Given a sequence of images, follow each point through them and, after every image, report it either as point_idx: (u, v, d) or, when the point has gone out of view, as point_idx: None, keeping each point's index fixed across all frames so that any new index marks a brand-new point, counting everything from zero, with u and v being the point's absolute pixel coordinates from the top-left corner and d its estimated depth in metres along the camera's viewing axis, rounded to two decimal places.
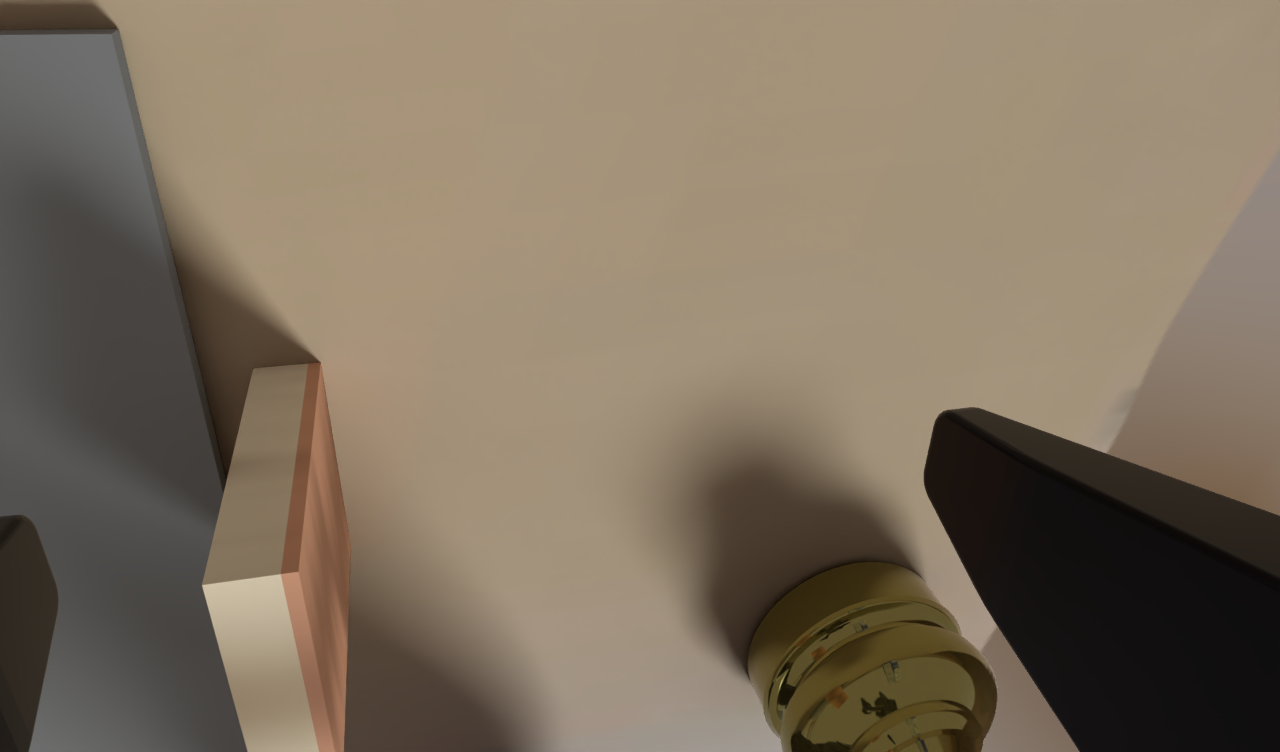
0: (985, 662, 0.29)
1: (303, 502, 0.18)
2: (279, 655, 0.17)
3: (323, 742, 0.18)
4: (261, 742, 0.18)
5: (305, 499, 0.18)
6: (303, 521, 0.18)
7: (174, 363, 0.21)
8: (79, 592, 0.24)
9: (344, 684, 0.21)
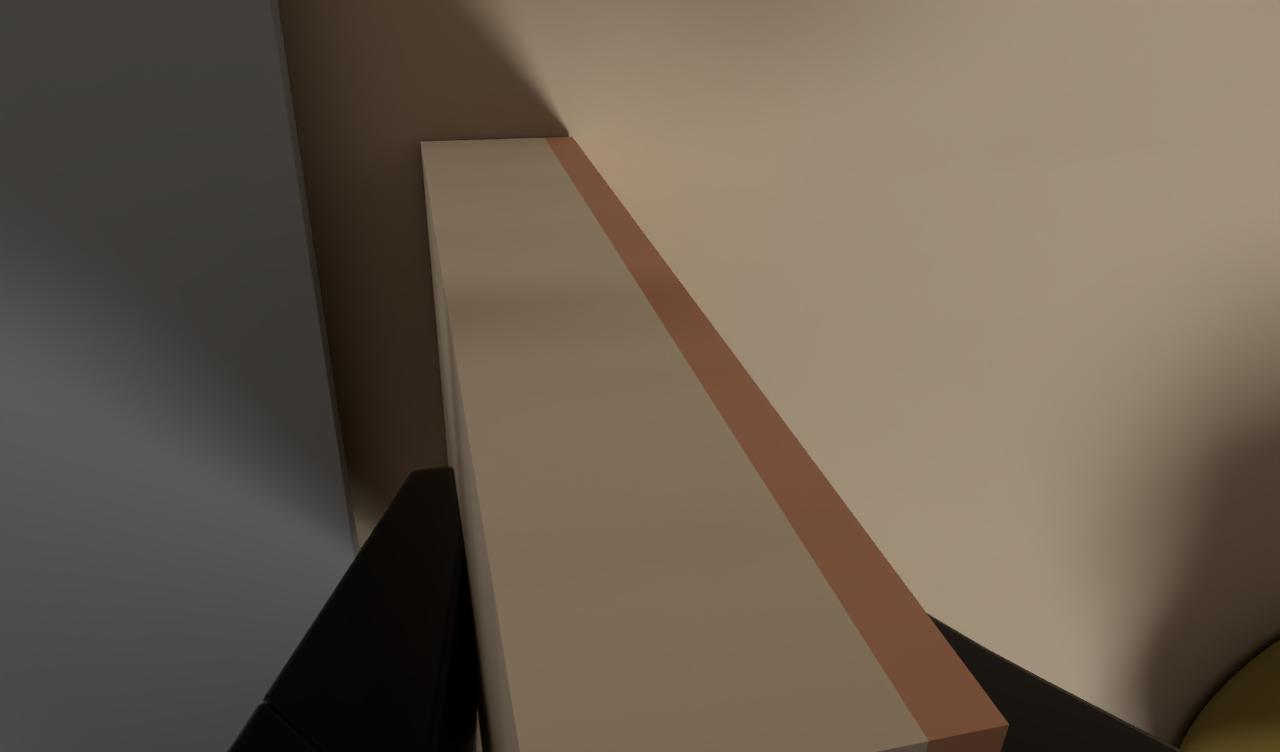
0: None
1: (767, 412, 0.05)
2: None
3: None
4: None
5: (767, 403, 0.05)
6: (817, 478, 0.04)
7: (242, 96, 0.08)
8: (7, 671, 0.11)
9: None
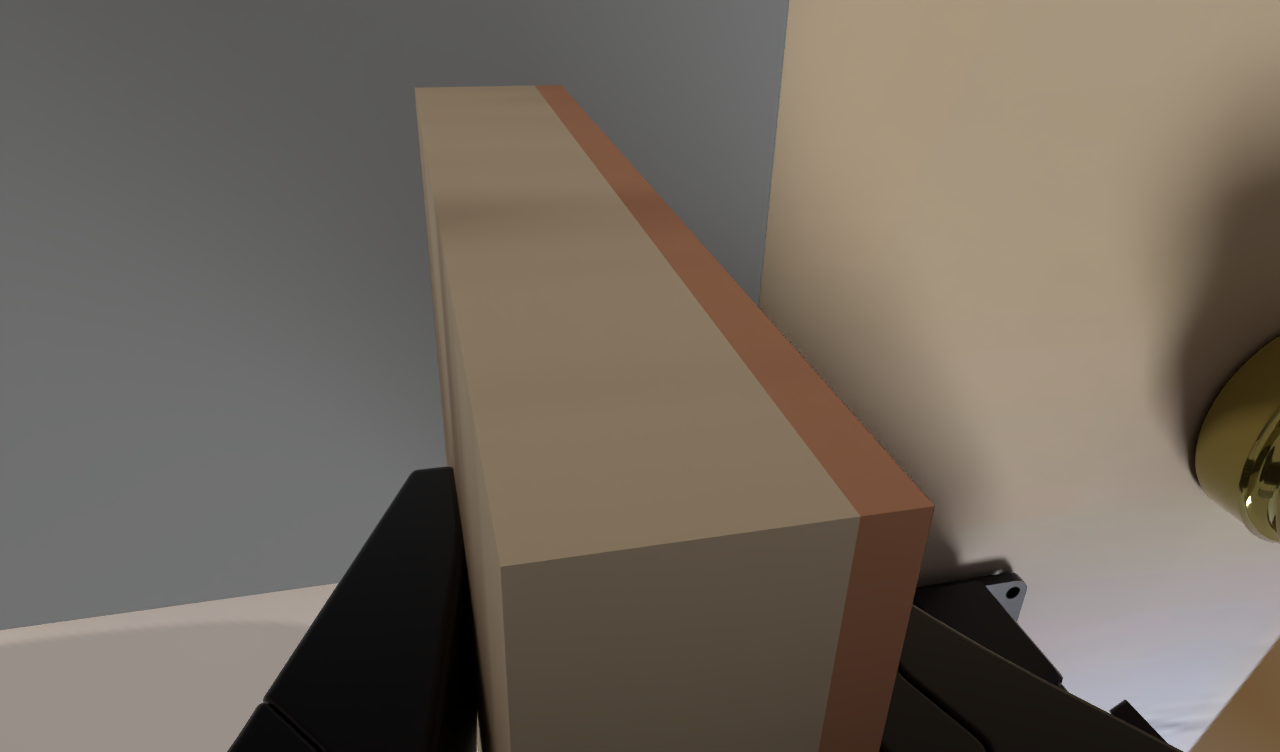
0: None
1: (734, 289, 0.05)
2: None
3: None
4: None
5: (734, 282, 0.05)
6: (777, 338, 0.05)
7: None
8: None
9: None
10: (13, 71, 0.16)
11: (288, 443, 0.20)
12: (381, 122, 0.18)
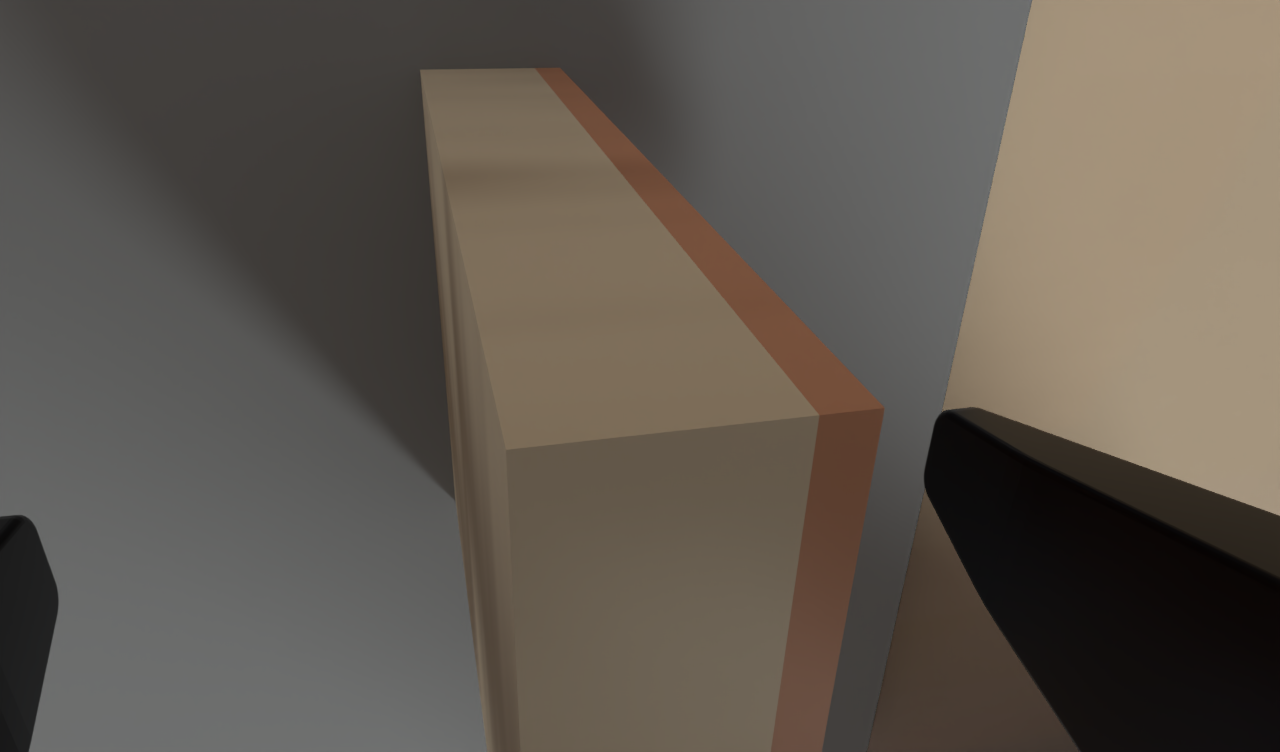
0: None
1: (716, 241, 0.06)
2: (712, 750, 0.05)
3: None
4: None
5: (717, 235, 0.06)
6: (754, 280, 0.05)
7: None
8: None
9: None
10: None
11: (256, 707, 0.14)
12: (396, 270, 0.11)
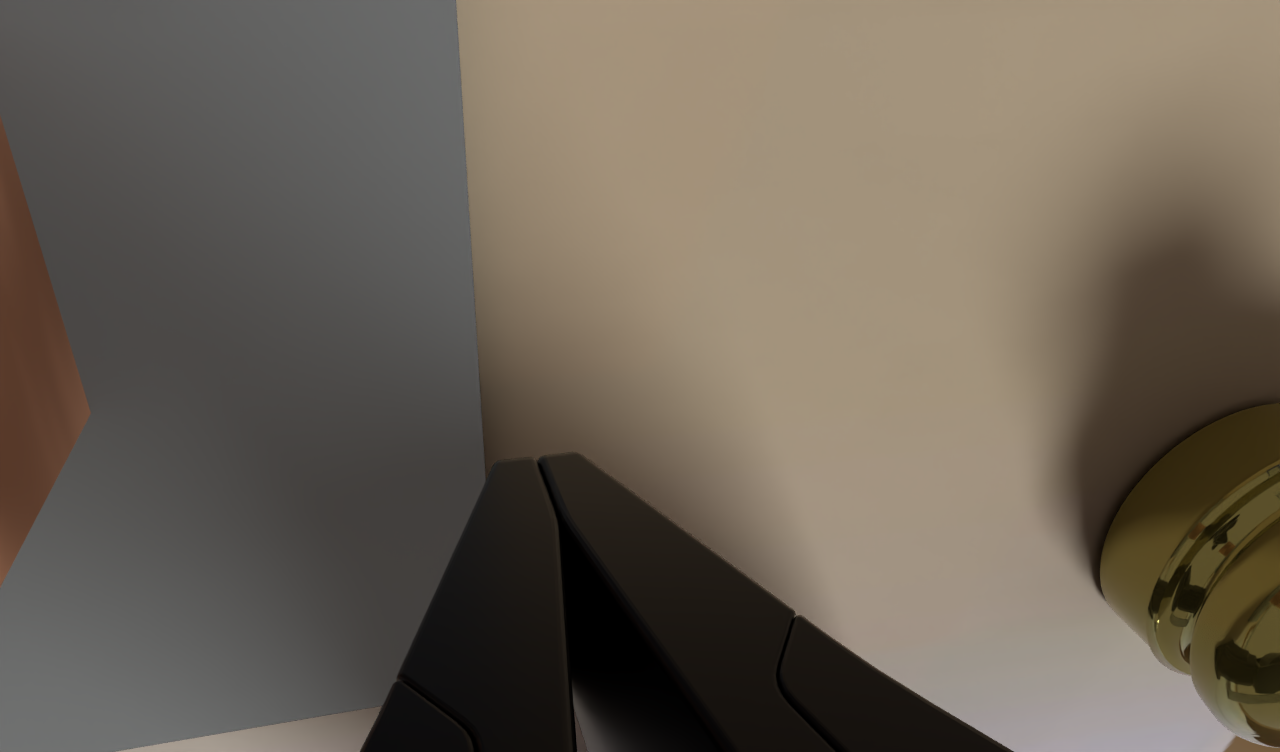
0: None
1: None
2: None
3: None
4: None
5: None
6: None
7: None
8: (229, 366, 0.15)
9: None
10: None
11: None
12: None
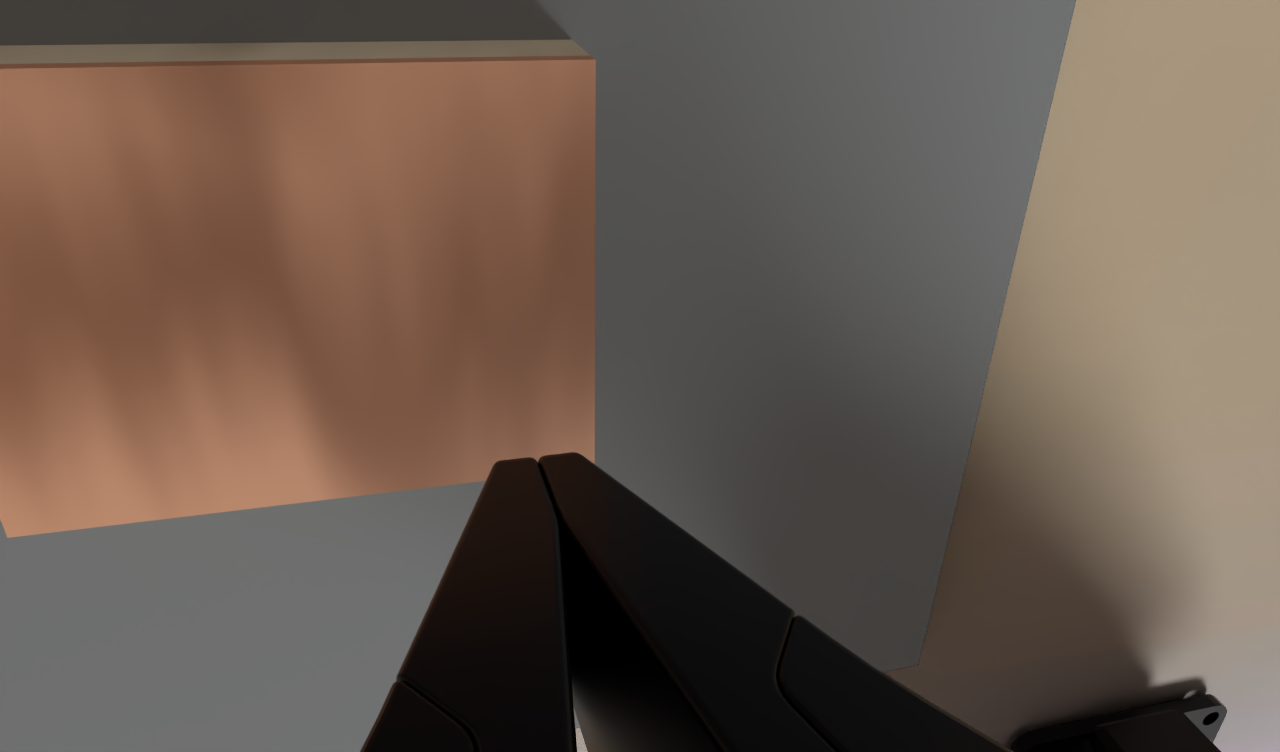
0: None
1: (57, 67, 0.10)
2: None
3: None
4: None
5: (65, 67, 0.10)
6: None
7: None
8: (795, 361, 0.16)
9: (217, 497, 0.13)
10: None
11: (405, 597, 0.16)
12: None
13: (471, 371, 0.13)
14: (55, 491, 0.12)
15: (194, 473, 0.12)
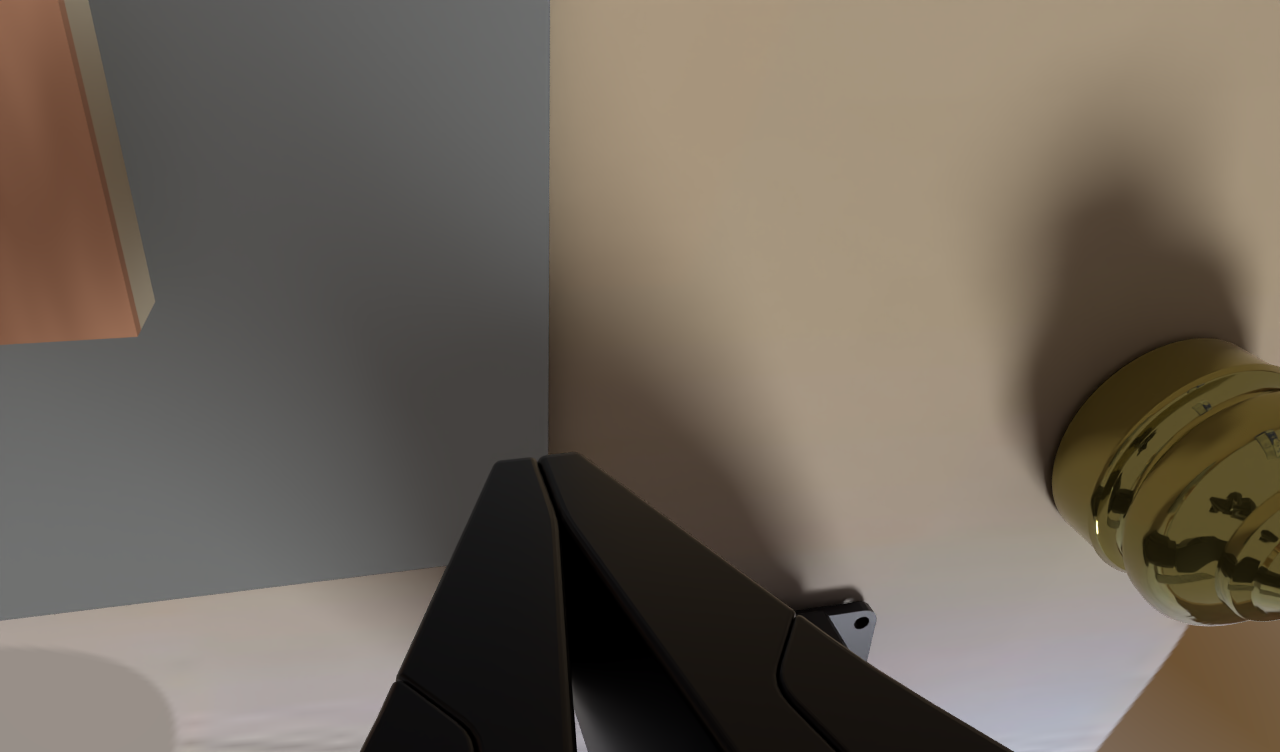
0: None
1: None
2: None
3: None
4: None
5: None
6: None
7: None
8: (357, 263, 0.19)
9: None
10: None
11: (25, 460, 0.19)
12: None
13: (0, 244, 0.15)
14: None
15: None
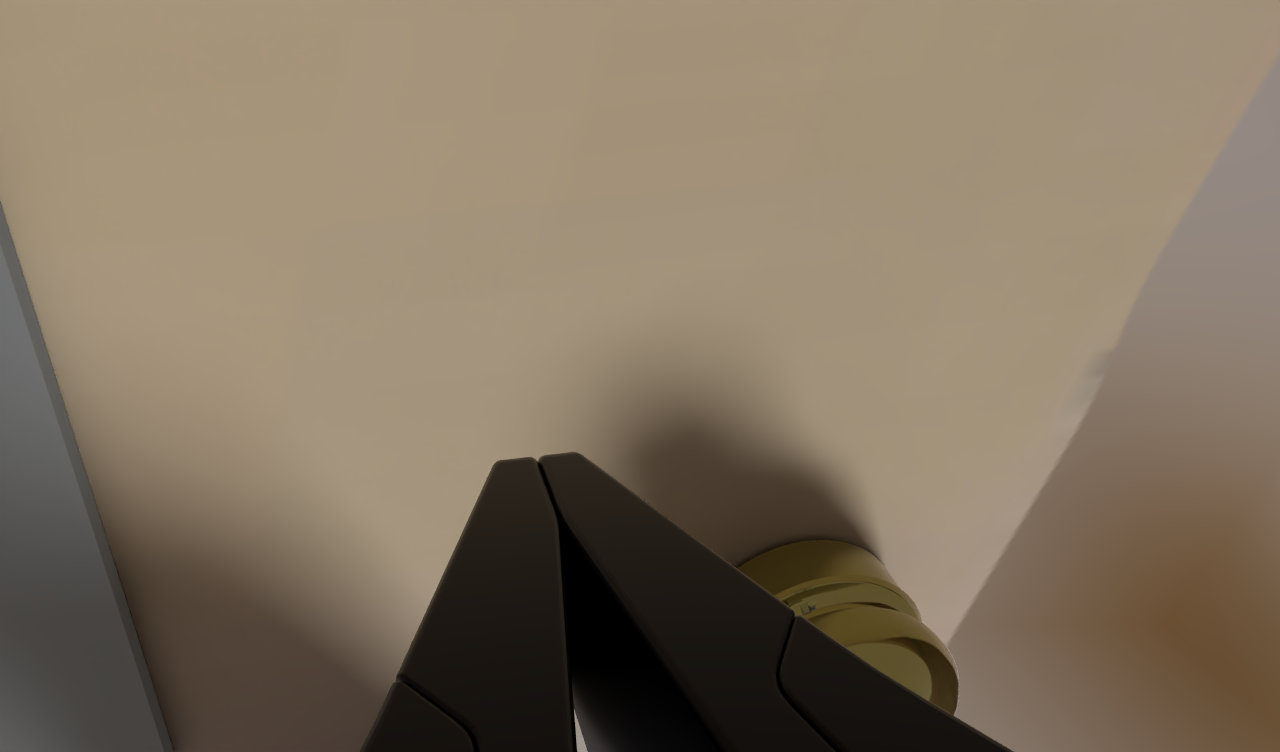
0: (944, 648, 0.26)
1: None
2: None
3: None
4: None
5: None
6: None
7: None
8: None
9: None
10: None
11: None
12: None
13: None
14: None
15: None
